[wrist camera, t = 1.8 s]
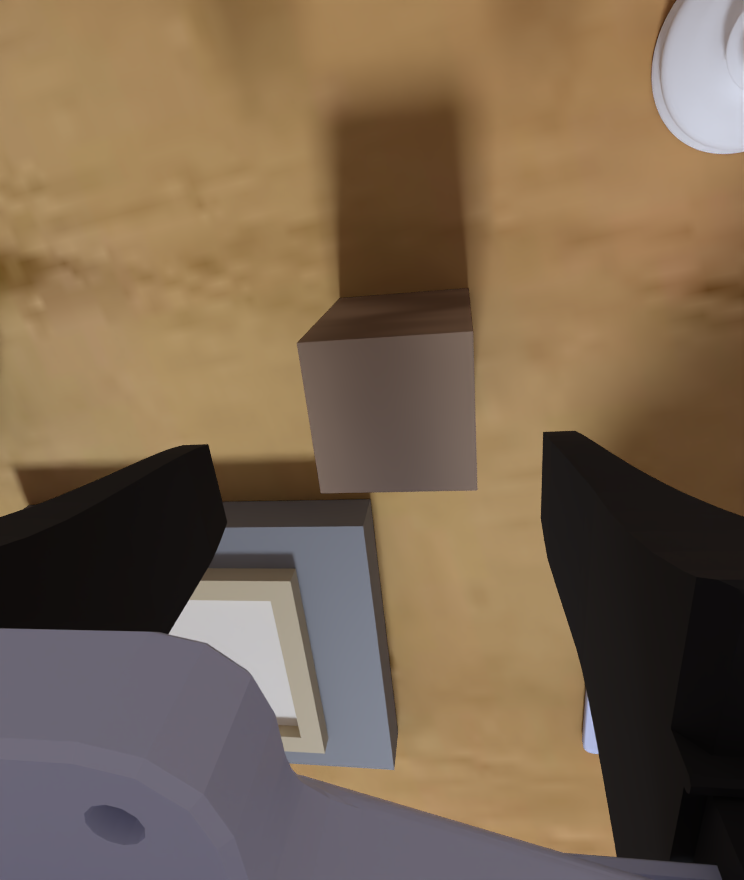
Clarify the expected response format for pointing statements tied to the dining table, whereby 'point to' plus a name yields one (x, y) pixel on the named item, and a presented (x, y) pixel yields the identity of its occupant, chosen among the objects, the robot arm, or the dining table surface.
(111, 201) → the dining table surface
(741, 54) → the chess piece
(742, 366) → the dining table surface
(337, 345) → the walnut block
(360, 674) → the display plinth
